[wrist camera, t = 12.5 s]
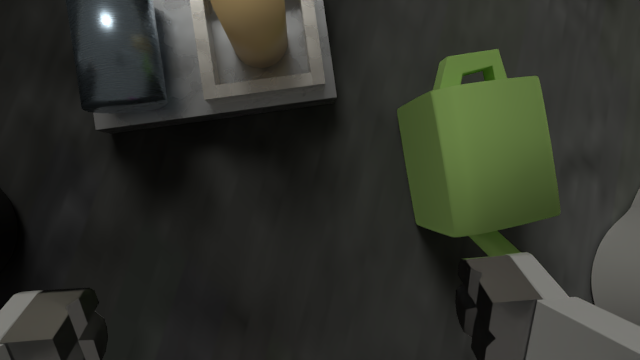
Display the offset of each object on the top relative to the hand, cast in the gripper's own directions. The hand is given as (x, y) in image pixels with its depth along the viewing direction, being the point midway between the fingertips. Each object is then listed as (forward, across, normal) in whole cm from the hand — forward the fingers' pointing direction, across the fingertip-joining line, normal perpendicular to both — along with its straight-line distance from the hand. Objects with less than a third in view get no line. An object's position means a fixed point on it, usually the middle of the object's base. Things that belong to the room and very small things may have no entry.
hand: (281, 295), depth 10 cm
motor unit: (+34, +7, -1) cm, 35 cm away
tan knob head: (+31, +2, -2) cm, 31 cm away
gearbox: (+29, -15, +10) cm, 35 cm away
